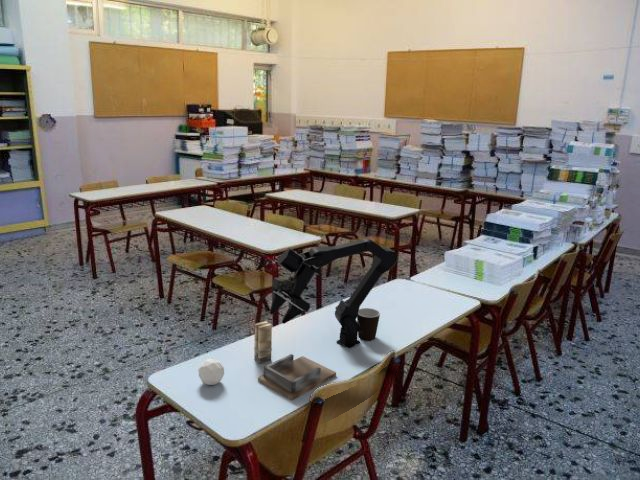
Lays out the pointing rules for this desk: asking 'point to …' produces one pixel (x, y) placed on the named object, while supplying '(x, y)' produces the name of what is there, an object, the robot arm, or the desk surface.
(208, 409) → the desk surface
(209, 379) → the ball
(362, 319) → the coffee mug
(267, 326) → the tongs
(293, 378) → the walnut stand
